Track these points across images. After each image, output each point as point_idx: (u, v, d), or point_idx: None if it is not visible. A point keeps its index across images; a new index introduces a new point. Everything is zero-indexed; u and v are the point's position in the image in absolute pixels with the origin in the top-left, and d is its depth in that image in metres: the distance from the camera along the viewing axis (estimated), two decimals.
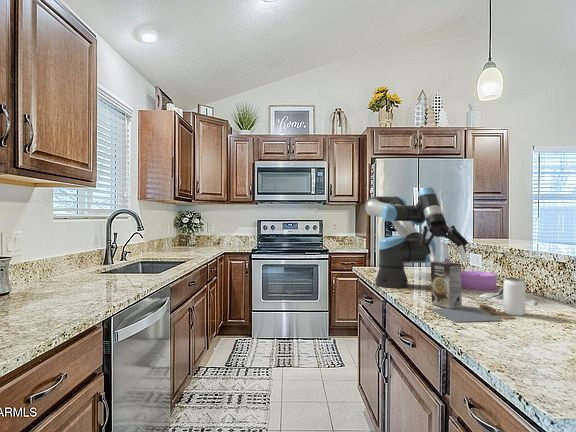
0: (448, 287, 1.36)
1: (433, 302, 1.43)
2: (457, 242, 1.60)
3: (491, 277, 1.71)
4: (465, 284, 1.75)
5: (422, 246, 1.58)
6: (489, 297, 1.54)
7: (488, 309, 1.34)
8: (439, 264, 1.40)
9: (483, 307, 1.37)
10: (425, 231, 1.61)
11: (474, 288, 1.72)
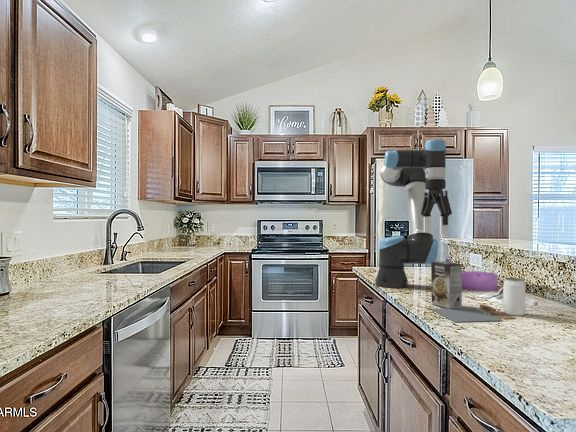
0: (448, 287, 1.36)
1: (433, 302, 1.43)
2: None
3: (492, 277, 1.70)
4: (467, 284, 1.74)
5: None
6: (489, 297, 1.54)
7: (488, 309, 1.34)
8: (439, 264, 1.40)
9: (483, 307, 1.37)
10: (424, 199, 1.57)
11: (476, 288, 1.71)
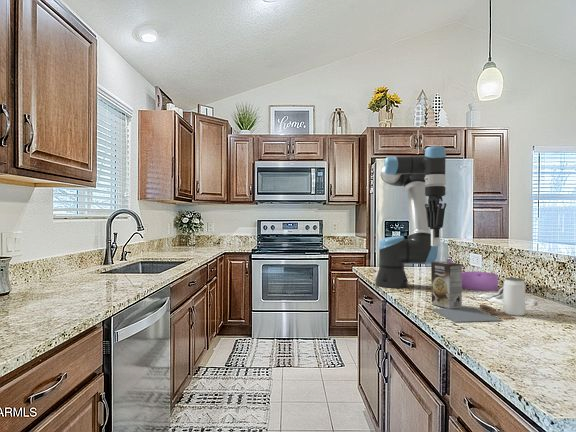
0: (448, 287, 1.36)
1: (433, 302, 1.43)
2: None
3: (494, 277, 1.70)
4: (468, 285, 1.74)
5: None
6: (489, 297, 1.54)
7: (488, 309, 1.34)
8: (439, 264, 1.40)
9: (483, 307, 1.37)
10: (426, 210, 1.54)
11: (477, 289, 1.71)
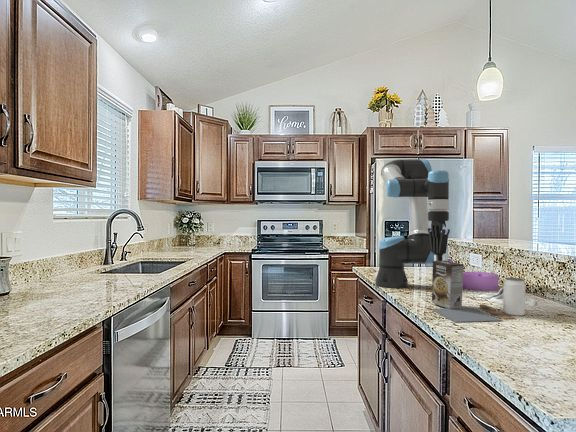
0: (449, 287, 1.36)
1: (433, 301, 1.43)
2: None
3: (494, 277, 1.70)
4: (468, 285, 1.74)
5: None
6: (489, 297, 1.54)
7: (488, 309, 1.34)
8: (441, 264, 1.39)
9: (483, 307, 1.37)
10: (429, 235, 1.52)
11: (478, 289, 1.71)
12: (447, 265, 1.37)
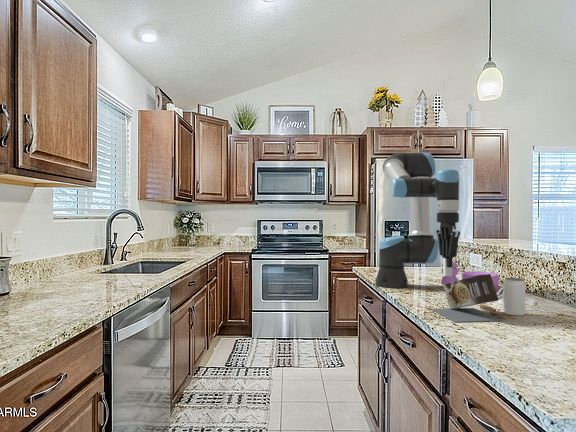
0: (465, 304, 1.29)
1: (445, 287, 1.37)
2: None
3: (494, 277, 1.70)
4: None
5: None
6: None
7: (488, 309, 1.34)
8: (480, 289, 1.24)
9: (483, 307, 1.37)
10: (438, 237, 1.45)
11: None
12: (483, 297, 1.23)
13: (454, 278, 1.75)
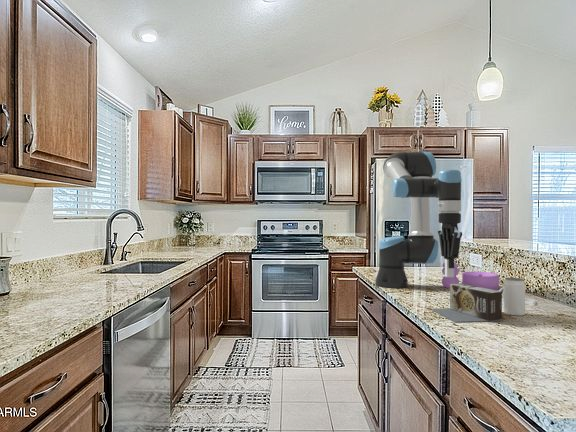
0: (467, 313, 1.29)
1: (451, 288, 1.35)
2: None
3: (495, 277, 1.70)
4: None
5: None
6: None
7: None
8: (487, 306, 1.21)
9: None
10: (440, 238, 1.43)
11: None
12: (487, 315, 1.21)
13: (455, 278, 1.75)
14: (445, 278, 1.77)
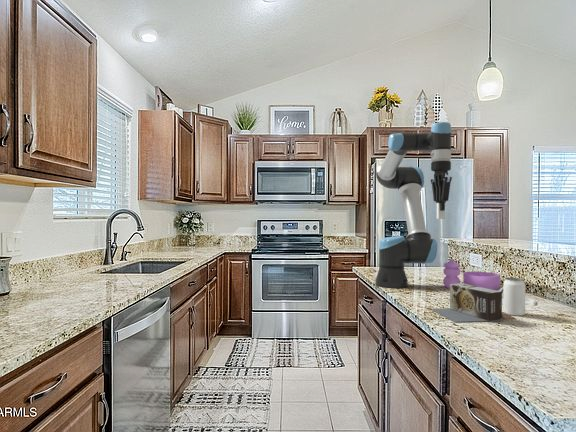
0: (467, 313, 1.29)
1: (451, 288, 1.35)
2: None
3: (496, 277, 1.70)
4: None
5: None
6: None
7: None
8: (487, 306, 1.21)
9: None
10: (432, 185, 1.60)
11: None
12: (487, 315, 1.21)
13: (456, 278, 1.74)
14: (447, 278, 1.76)
